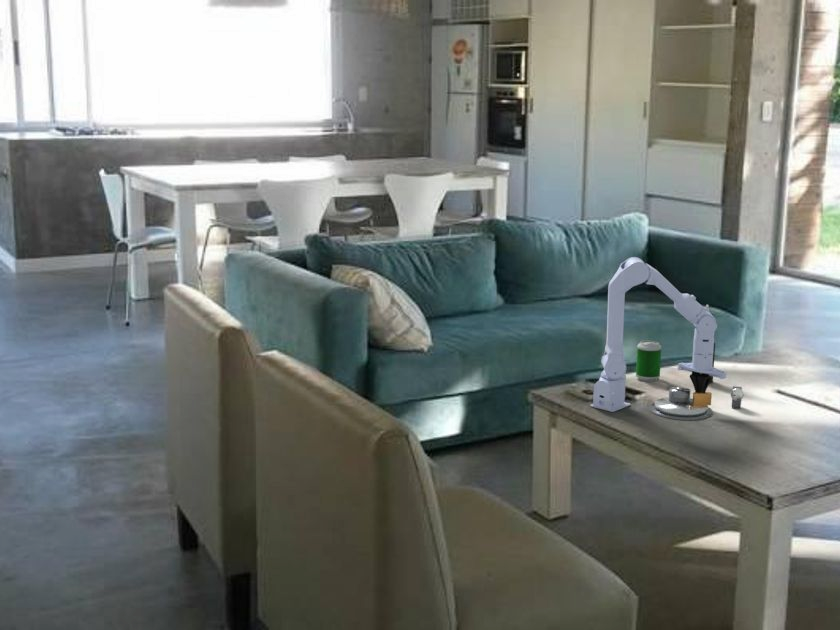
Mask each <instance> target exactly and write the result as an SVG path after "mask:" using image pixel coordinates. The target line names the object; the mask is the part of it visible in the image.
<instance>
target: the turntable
mask: <svg viewBox="0 0 840 630" xmlns="http://www.w3.org/2000/svg"><path fill="white" fill-rule="evenodd" d="M712 395H713V393H712V391H711V392H709V391H708V392H707V391H706V392H695V391H694V392H693V393H692V398H691V397H690V402H689V403H687V404H675V403H671V402H669V396H668V397H663V398H662V397H661V398H659V399H656V400H655V401H654V403H655V409H656V410H657V411H659V412H661V413H664V414H668V415H673V416H683V417H692V416H700V415H703V414H706V413H707V412H708V407H709V406H712V398H713V397H712Z"/></svg>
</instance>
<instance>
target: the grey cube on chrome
mask: <svg viewBox="0 0 840 630" xmlns="http://www.w3.org/2000/svg"><path fill="white" fill-rule="evenodd" d="M744 396H745V394H744V391H743V387H742V386H736V385H735V386H734V385H733V386H732V390H731V391H730V397H731V409H734V410H735V409H736V410H738V409H739V410H741V409H742V408H741V407H742V406H741V405H742V400H743V398H744Z"/></svg>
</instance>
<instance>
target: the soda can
mask: <svg viewBox="0 0 840 630" xmlns="http://www.w3.org/2000/svg"><path fill="white" fill-rule="evenodd" d="M661 357H662V345H660V343H659V342H657V341H654V340H642V341H640V342H639V343H638V344H637V346H636V366H635V367H636V368H635V377H636V378H638V380H640V381H641V382H647V383H648V382H649V383H650V382H657V380H659V378H661V377H660V376H661V364H662V363H661V360H662V359H661Z"/></svg>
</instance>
